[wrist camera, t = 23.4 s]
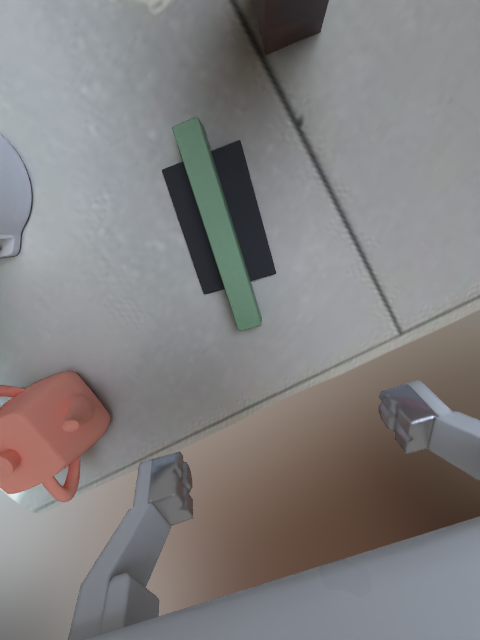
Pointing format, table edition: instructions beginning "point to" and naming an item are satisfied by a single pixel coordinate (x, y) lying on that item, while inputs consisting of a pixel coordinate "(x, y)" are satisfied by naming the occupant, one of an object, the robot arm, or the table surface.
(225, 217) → the rod
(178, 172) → the mat
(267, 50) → the stand
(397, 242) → the table surface
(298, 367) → the table surface
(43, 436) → the teapot
